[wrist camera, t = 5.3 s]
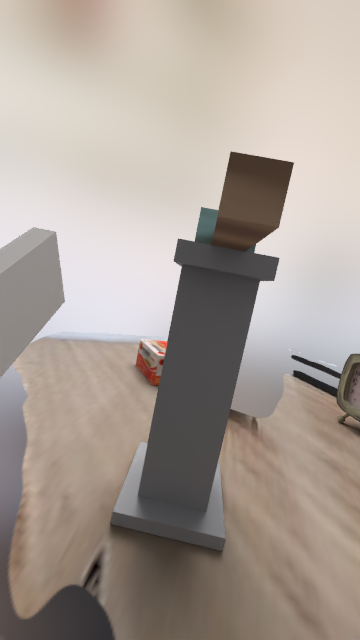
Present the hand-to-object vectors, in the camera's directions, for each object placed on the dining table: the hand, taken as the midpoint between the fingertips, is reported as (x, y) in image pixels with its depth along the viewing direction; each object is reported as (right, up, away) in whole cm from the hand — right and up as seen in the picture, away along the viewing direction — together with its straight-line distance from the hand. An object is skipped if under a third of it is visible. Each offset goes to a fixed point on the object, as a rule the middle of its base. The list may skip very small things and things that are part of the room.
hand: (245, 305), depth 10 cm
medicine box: (-8, -16, +72) cm, 74 cm away
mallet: (+2, +6, +18) cm, 20 cm away
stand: (-3, -22, +29) cm, 36 cm away
